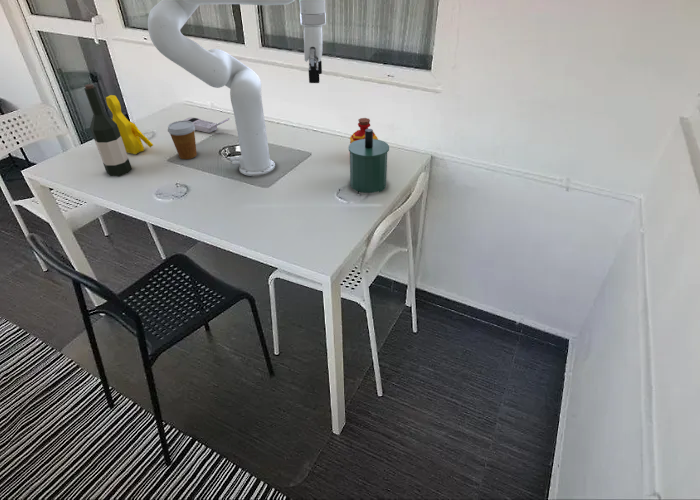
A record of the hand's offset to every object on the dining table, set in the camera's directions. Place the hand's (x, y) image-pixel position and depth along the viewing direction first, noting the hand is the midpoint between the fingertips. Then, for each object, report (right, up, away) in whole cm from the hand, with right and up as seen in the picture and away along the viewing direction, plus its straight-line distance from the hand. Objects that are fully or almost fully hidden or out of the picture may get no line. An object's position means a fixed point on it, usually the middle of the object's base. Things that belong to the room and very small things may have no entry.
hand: (315, 78), depth 145 cm
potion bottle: (+16, -22, +20) cm, 34 cm away
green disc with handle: (+17, -23, -3) cm, 29 cm away
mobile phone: (-50, -2, +43) cm, 66 cm away
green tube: (+17, -34, +5) cm, 38 cm away
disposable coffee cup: (-50, -20, +25) cm, 59 cm away
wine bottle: (-71, -27, +16) cm, 78 cm away
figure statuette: (-72, -18, +28) cm, 79 cm away
